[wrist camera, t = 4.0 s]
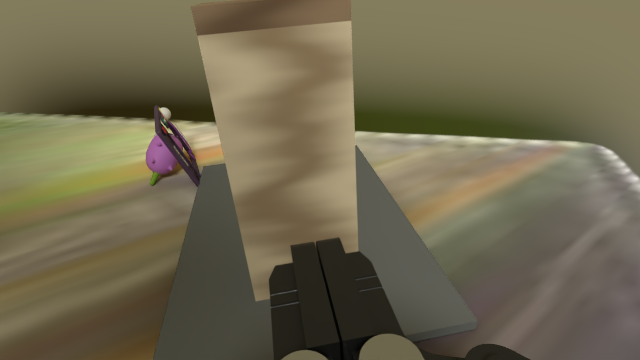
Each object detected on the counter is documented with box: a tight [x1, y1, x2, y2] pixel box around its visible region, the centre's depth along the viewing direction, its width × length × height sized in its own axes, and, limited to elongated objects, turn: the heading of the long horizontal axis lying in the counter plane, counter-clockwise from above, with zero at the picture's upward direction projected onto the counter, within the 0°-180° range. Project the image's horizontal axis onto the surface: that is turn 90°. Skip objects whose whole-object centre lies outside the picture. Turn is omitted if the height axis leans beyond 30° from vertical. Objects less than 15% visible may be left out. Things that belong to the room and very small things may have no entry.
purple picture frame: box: [146, 105, 200, 187], centre depth 36 cm, size 7×5×9 cm
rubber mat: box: [153, 145, 477, 360], centre depth 28 cm, size 16×24×1 cm
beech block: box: [191, 0, 358, 301], centre depth 19 cm, size 6×4×15 cm, turn 100°
